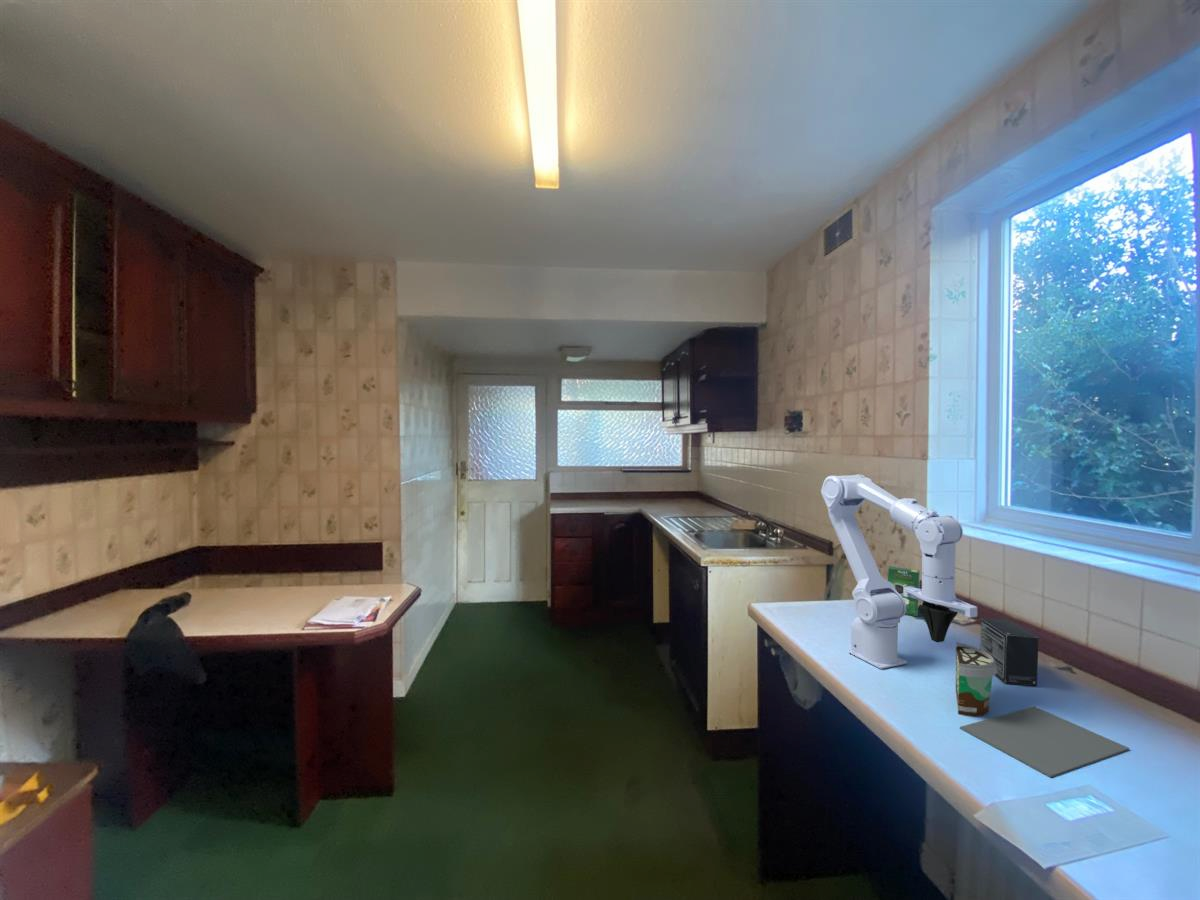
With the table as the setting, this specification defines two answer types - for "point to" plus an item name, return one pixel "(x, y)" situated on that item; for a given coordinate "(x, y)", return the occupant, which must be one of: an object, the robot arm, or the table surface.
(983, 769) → the table surface
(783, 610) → the table surface
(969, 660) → the food container
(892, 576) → the coffee box
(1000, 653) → the small box
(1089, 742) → the mat
